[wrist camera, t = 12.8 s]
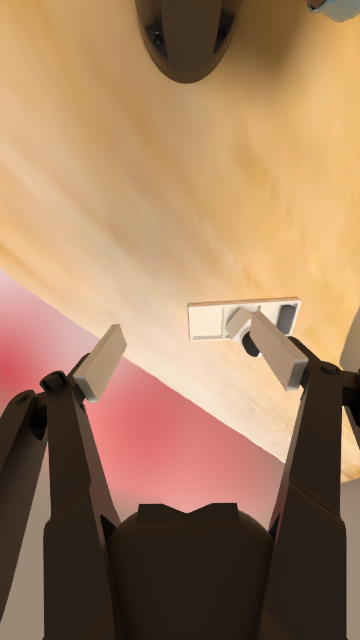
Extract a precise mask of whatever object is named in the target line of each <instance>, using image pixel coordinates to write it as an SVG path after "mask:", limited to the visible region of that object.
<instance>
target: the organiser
mask: <svg viewBox="0 0 360 640" xmlns="http://www.w3.org/2000/svg"><path fill="white" fill-rule="evenodd" d="M301 302H302V300H301V299H299V298H297V297H296V298H279V299H263V300H247V301H230V302H214V303H197V304H188V310H189V331H190V342H201V341H220V340H232V339H231V337H230V335H229V333H228V331H227V329H226V327H225V326H226V325H227V324H228V322H229V321H230V320H231V319H232V317H233V316H234V315H235V314H236V312H237V311H238V310H239V309H240V308H243V309H245V310H246V311H248V312H250V313H252V312H254V311H261V312H262V313H263V314H264V315H265V316H266V317H267V318H268V319H269V320H270V321H271V322H272V323H273V324H274V325H275V326H276V327H277V326H278V322H279V317H280V313H281V309H282V306H283V305H292V306H294V307H295V310H294V314H293V318H292V321H291V325H290V328H289V332H288V334H286V335H285V336H292V333H293V329H294V326H295V322H296V319H297V316H298V312H299V309H300V306H301Z"/></svg>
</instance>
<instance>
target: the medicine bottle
mask: <svg viewBox="0 0 360 640" xmlns="http://www.w3.org/2000/svg"><path fill="white" fill-rule="evenodd" d="M251 318H252V313H250V312H248V311H246V310H245V309H243V308H240V309H239V310H238V311H237V312H236V314H235V315H234V316H233V317H232V319H231V320H230V321H229V322H228V324H227V325H226V326H225V327H226V329H227V331H228V333H229V335H230V337H231V339H232V341H234V342H236V343H238V344H240V345H242V346H243V347H244V348H245V350H246V352H247V353H248V354H249V355H251V356H254V357H260V356H263V355H262V354H261V352H260V351H259V349H258V348H257V346H256V345H255V343H254V342H253V340H252V339H251V337H250V327H251Z"/></svg>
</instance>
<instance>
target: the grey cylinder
mask: <svg viewBox="0 0 360 640" xmlns="http://www.w3.org/2000/svg"><path fill="white" fill-rule="evenodd" d="M294 310H295V307H294V306H292V305H283V306H282V309H281V313H280V317H279V322H278V326H277V328H278V329H279V330H280V331H281V332H282V333H283V334H284V335H286V334H288V332H289V328H290V325H291V321H292V318H293V314H294Z"/></svg>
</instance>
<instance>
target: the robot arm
mask: <svg viewBox="0 0 360 640" xmlns="http://www.w3.org/2000/svg"><path fill="white" fill-rule="evenodd" d="M304 1H305V2H307V8H308V10H309V11H310V12H311V13H322V14H323V15H325V16H327V17H328V18H330V19H332V20H333V21H335V22H344V21H345V20H349V19H352V18H354V17H356V16H357V15H358V14H360V0H304ZM135 2H136V7H137V13H138V18H139V23H140V28H141V32H142V35H143V38H144V41H145V44H146V47H147V49H148V51H149V53H150V55H151V57H152V59H153V60H154V62H155V63H156V65H157V66H158V67H159V69H160V70H161V71H162V72H163V73H164V74H166V75H167V76H168V77H170V78H171V79H173V80H175V81H178V82H182V83H191V82H195V81H198V80H200V79H202V78H204V77H205V76H207V75H208V74H209V73H210V72H211V71H212V70H213V69H214V68H215V67H216V66H217V65H218V63H219V62H220V60H221V59H222V57H223V55H224V54H225V52H226V50H227V47H228V45H229V43H230V40H231V37H232V35H233V31H234V28H235V24H236V20H237V16H238V11H239V7H240V3H241V0H135ZM250 337H251V339H252V340H253V342H254V343H255V345H256V346H257V348H258V349H259V351H260V352H261V354H262V355H263V357H264V358H265V360H266V361H267V363H268V365H269V366H270V368H271V369H272V371H273V372H274V374H275V375H276V377H277V378H278V380H279V381H280V383H281V384H282V386H283V387H284V389H285V391H294V390H298V388H299V385H301V386H302V387H303V388H304V391H303V393H302V396H301V399H300V400H301V402H300V406H299V410H298V414H297V418H296V422H295V426H294V431H293V435H292V439H291V443H290V447H289V451H288V455H287V459H286V463H285V468H284V472H283V476H282V480H281V484H280V488H279V492H278V497H277V500H276V504H275V507H274V511H273V514H272V517H271V521H270V525H269V529H268V532H267V530H266V529H265V528H264V527H263V526H262V525H261V524H260V523H259V522H257V521H256V520H255V519H254V518H252V517H251V516H249V515H248V514H246V513H244V512H242V511H240V510H238V507H237V503H212V504H209V505H206V506H204V507H202V508H199V509H197V510H195V511H192V512H190V513H184V512H181V511H179V510H176V509H174V508H171V507H169V506H166V505H164V504H139V507H138V512H136V513H134V514H132V515H131V516H129V517H128V518H127V519H126V520H124V521H123V522H122V523H121V522H120V519H119V517H118V514H117V512H116V510H115V508H114V505H113V502H112V499H111V496H110V492H109V489H108V485H107V482H106V478H105V475H104V471H103V468H102V465H101V461H100V458H99V454H98V451H97V447H96V444H95V440H94V437H93V434H92V430H91V427H90V424H89V420H88V416H87V413H86V409H85V406H84V404H83V401H84V399H85V397H86V399H87V400H88V402H99V400H100V398H101V396H102V394H103V392H104V390H105V388H106V386H107V384H108V382H109V380H110V378H111V377H112V375H113V373H114V371H115V369H116V367H117V365H118V363H119V361H120V359H121V357H122V355H123V353H124V351H125V349H126V347H127V344H126V342H125V339H124V336H123V333H122V330H121V327H120V324H115V325H112V326H111V327H110V328H109V330H108V331H107V332H106V334H105V335H104V336H103V337H102V339H101V340H100V341H99V343H98V344H97V345H96V346H95V348H94V349H93V350H92V352H91V353H87V354H86V355H85V356H83V357H82V358H81V360H80V361H79V363H77V364H76V366H75V367H74V368H73V369H72V370H71V372H70V373H69V374H68V375H67V377H66V375H65V374H64V373H63V371H55V372H52V373H50V374H49V375H47V376H45V377H44V378H43V379H42V380H41V381H40V386H41V387H42V388H43V390H44V391H45V392H42V393H38V394H36V393H35V392H34V391H33V390H26V391H24V392H22V393H19V394H18V395H16V396H15V397H14V398H13V399H12V400H11V401H10V402H9V403H8V405H7V407H6V409H5V410H4V412H3V414H2V416H1V417H0V622H1V619H2V616H3V613H4V610H5V606H6V603H7V599H8V595H9V592H10V588H11V585H12V581H13V577H14V573H15V569H16V565H17V561H18V557H19V553H20V549H21V545H22V541H23V537H24V533H25V529H26V525H27V521H28V517H29V513H30V509H31V505H32V501H33V497H34V493H35V489H36V485H37V481H38V477H39V474H40V470H41V465H42V461H43V458H44V453H45V450H46V446H47V441H48V449H49V473H50V497H51V517H50V520H49V521H48V522H47V523H46V525H45V528H44V536H43V556H44V557H43V558H44V637H43V639H42V640H348V639H347V637H346V528H345V523H344V521H343V520H342V519H341V517H340V476H341V432H342V405H343V406H344V408H345V411H346V414H347V416H348V419H349V422H350V425H351V427H352V430H353V433H354V435H355V438H356V441H357V444H358V446H359V449H360V369H359V370H358V372H357V373H355V372H348V371H342V370H341V369H340V368H339V367H337V366H335V365H334V364H331V363H329V362H325V361H321V360H320V359H319V358H318V357H317V356H315V355H314V354H313V353H312V352H311V351H310V350H309V349H307V347H306V346H305V345H303V344H302V343H301V342H300V341H299V340H298V339H296V338H294V337H292V336H285V335H284V334H283V333H282V332H281V331H280V330H279V329H278V328H277V327H276V326H275V325H274V324H273V323H272V322H271V321H270V320H269V319H268V318H267V317H266V316H265V315H264V314H263V313H262V312H261V311H254V312H252V318H251V327H250Z"/></svg>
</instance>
